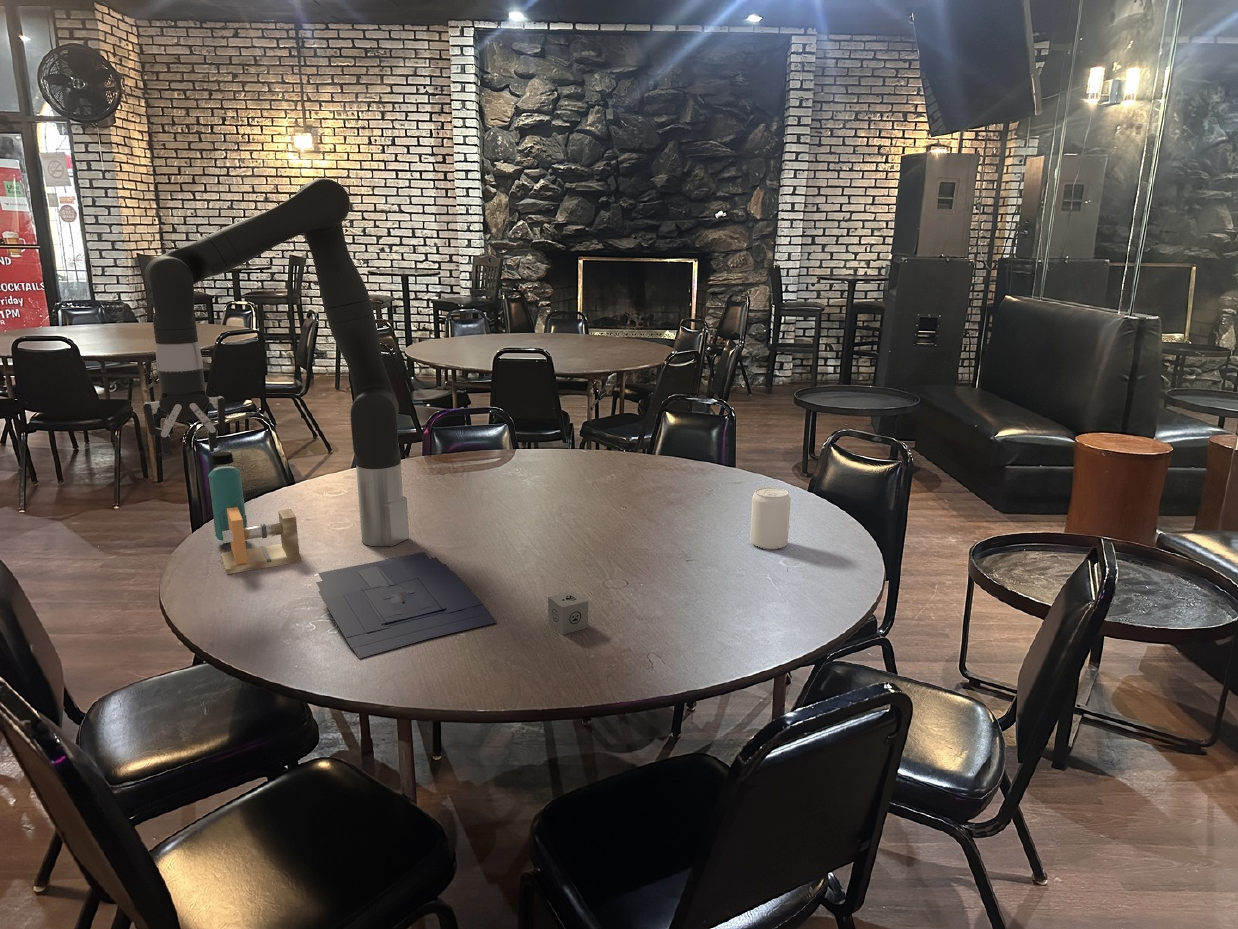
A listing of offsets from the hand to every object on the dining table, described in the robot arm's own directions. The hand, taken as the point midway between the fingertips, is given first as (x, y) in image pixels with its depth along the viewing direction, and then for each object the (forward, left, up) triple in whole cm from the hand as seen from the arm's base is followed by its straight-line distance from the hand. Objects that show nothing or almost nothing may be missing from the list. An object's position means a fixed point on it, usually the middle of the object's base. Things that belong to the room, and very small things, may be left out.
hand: (191, 452), depth 161 cm
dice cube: (-77, -9, -24) cm, 81 cm away
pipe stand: (-6, -8, -24) cm, 25 cm away
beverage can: (-98, -63, -24) cm, 119 cm away
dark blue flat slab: (-47, -2, -24) cm, 53 cm away
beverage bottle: (+7, -13, -24) cm, 28 cm away
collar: (-4, -5, -22) cm, 23 cm away
